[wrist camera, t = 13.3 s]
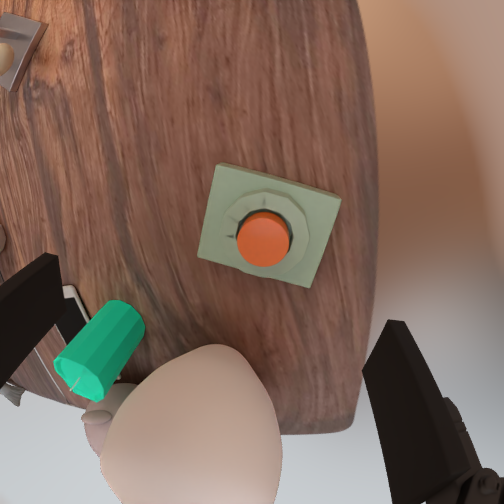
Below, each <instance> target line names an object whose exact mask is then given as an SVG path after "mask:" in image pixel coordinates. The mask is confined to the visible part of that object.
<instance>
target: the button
mask: <svg viewBox="0 0 504 504" xmlns="http://www.w3.org/2000/svg"><path fill="white" fill-rule="evenodd" d="M237 246H238V250H239V252H240V254H241V255H242V257H243V258H244V259H245V260H246V261H247V262H249V263H250V264H253V265H255V266H259V267H268V266H272V265H275V264H277V263H279V262H280V261H281V260H282V259H283V258H284V257H285V255H286V254H287V251H288V248H289V231H288V227H287V225H286V224H285V222H284V221H283V220H282V219H281V218H280V217H279V216H277V215H275V214H273V213H270V212H259V213H255V214H253V215H251V216H250V217H248V218H247V219H246V220H245V222H244V223H243V225H242V227H241V229H240V231H239V234H238V237H237Z"/></svg>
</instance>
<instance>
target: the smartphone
mask: <svg viewBox="0 0 504 504" xmlns="http://www.w3.org/2000/svg"><path fill="white" fill-rule="evenodd" d="M63 292H64V298H65V303H66V308H67V311H66V313H65V314H64V315H63V316H62V317H61V318H60V319H59V320H58V321H57V322H56V323H55V326H56V328H57V330H58V332H59V333H60V335H61V337H62V339H63V341H64V342H65V344H66V346H67V345H68V344H69V343H70V342H71V341H72V340H73V338H74V337H75V336H76V335H77V334H78V333H79V332H80V331H81V330H82V329H83V327H84V326H85V325H86V324H87V323H88V322H89V321H90V319H89V317H88V315H87V313H86V311H85V309H84V307H83V305H82V303H81V300H80V298H79V296H78V294H77V292H76V289H75V287H74V286H72V285H67V286H63ZM120 379H121V374H119V375H118V377H117V378H116V380H120Z"/></svg>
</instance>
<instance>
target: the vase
mask: <svg viewBox="0 0 504 504" xmlns="http://www.w3.org/2000/svg"><path fill="white" fill-rule="evenodd" d="M100 466H101V472H102V474H103V476H104V478H105V479H106V481H107V483H108V485H109V486H110V488H111V489H112V491H113V492H114V493H115V495H116V496H117V497H118V499H119V500H120V501H121V503H122V504H274V501H275V497H276V494H277V490H278V486H279V481H280V475H281V468H282V442H281V436H280V431H279V426H278V422H277V418H276V414H275V410H274V407H273V404H272V401H271V399H270V397H269V395H268V393H267V391H266V389H265V388H264V386H263V384H262V383H261V381H260V380H259V378H258V377H257V375H256V374H255V372H254V370H253V369H252V367H251V366H250V364H249V363H248V361H247V360H246V359H245V358H244V356H243V355H242V354H241V353H239V352H238V351H237V350H235V349H233V348H231V347H229V346H226V345H222V344H210V345H205V346H202V347H199V348H197V349H195V350H192V351H190V352H188V353H186V354H184V355H181V356H179V357H177V358H175V359H173V360H171V361H169V362H167V363H165V364H164V365H162V366H160V367H159V368H157V369H156V370H155V371H154V372H152V373H151V374H150V375H149V376H148V377H147V378H146V379H145V380H144V381H142V382H141V383H140V384H139V385H138V386H137V387H136V388H135V389H134V390H133V391H132V392H131V393H130V395H129V396H128V397H127V398H126V399H125V401H124V402H123V403H122V405H121V406H120V408H119V409H118V411H117V413H116V415H115V416H114V418H113V421H112V423H111V425H110V427H109V430H108V432H107V435H106V438H105V440H104V443H103V447H102V451H101V455H100Z"/></svg>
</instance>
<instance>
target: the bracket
mask: <svg viewBox="0 0 504 504" xmlns="http://www.w3.org/2000/svg"><path fill="white" fill-rule="evenodd" d="M47 26H48V24H45V23H42V22H38V21H35V20H32V19H29V18H25V17H22V16H18V15H15V14H11V13H7V12H4V13H3V14H2V16H1V18H0V43H7V44H9V45H10V46H11V47H12V48H13V50H14V61H13V63H12V66H11V67H10V69H9V70H8V71H7V72H6V73H5V74H3V75H2V76H0V85H1V86H2V87H4V88H5V89H6V90H8V91H9V92H17V90H18V87H19V84H20V82H21V80H22V77H23V75H24V72H25V70H26V68H27V66H28V63H29V61H30V59H31V57H32V55H33V53H34V51H35V49H36V47H37V45H38V43H39V41H40V39H41V37H42V35H43V33H44V32H45V30H46V28H47Z"/></svg>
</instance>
